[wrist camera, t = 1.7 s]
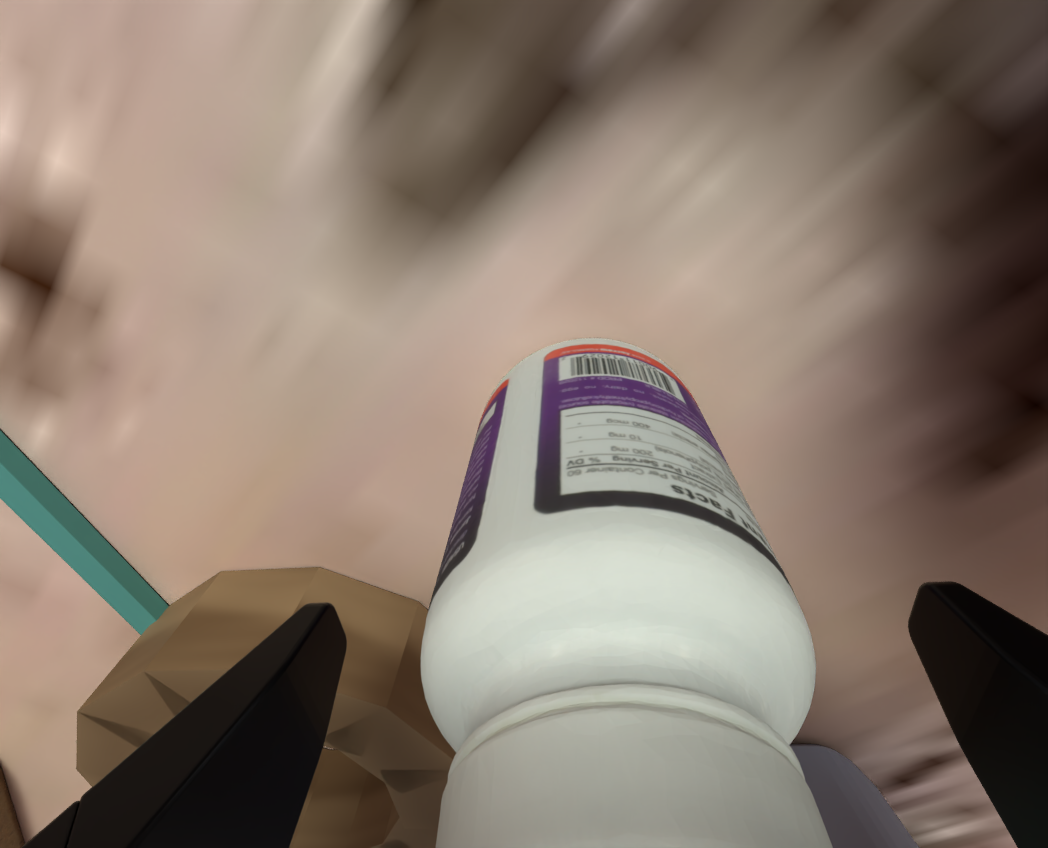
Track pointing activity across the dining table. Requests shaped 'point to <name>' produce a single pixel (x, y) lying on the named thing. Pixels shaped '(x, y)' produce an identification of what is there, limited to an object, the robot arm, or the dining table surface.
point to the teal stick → (75, 539)
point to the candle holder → (8, 820)
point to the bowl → (849, 802)
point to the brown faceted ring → (357, 716)
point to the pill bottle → (613, 626)
